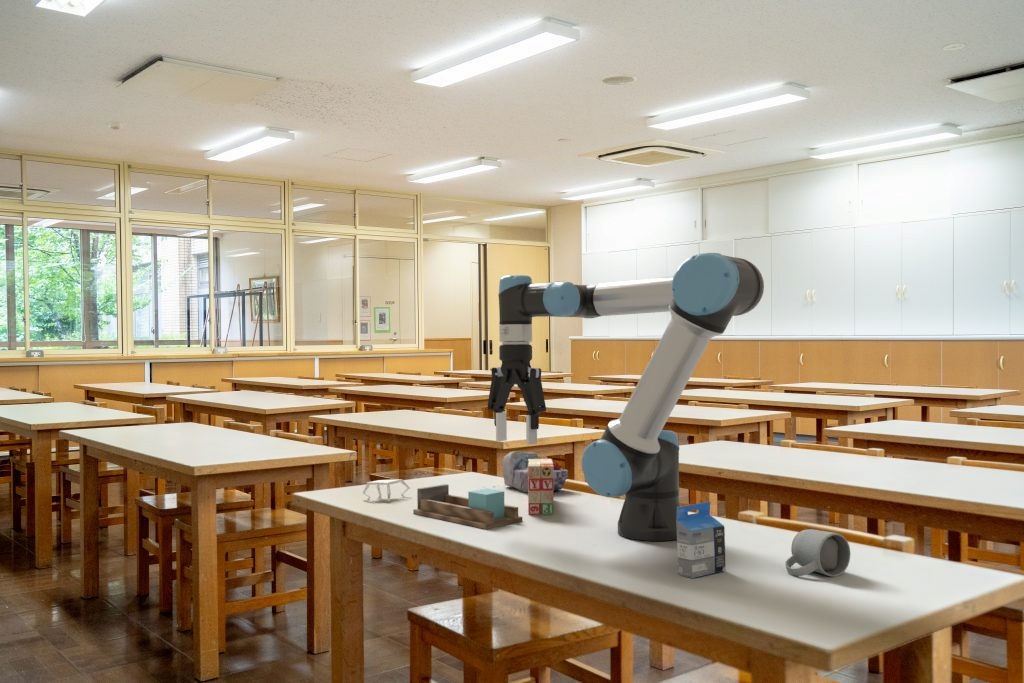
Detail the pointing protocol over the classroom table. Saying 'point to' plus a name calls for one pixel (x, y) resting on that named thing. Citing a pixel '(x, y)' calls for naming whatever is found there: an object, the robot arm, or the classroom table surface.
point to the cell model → (518, 471)
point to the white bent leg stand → (387, 482)
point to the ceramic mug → (819, 553)
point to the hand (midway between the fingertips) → (516, 442)
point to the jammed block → (487, 501)
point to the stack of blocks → (540, 486)
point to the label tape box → (699, 541)
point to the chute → (459, 509)
